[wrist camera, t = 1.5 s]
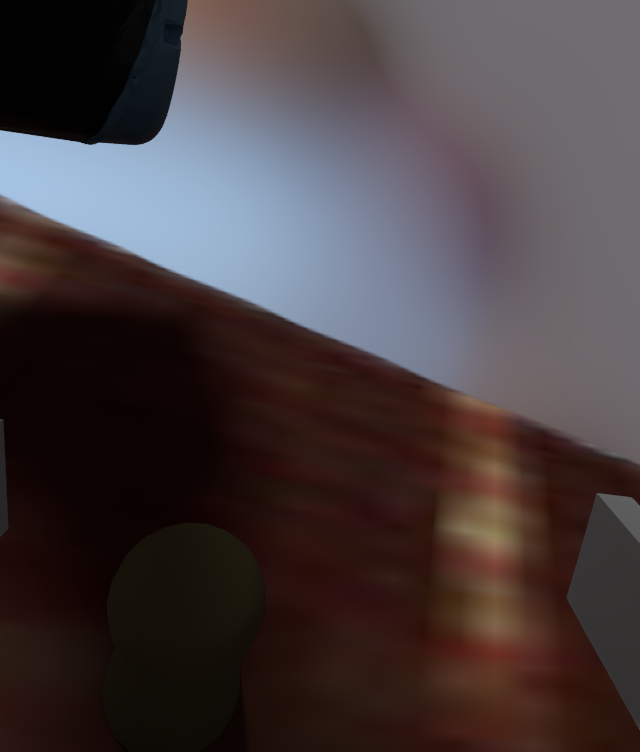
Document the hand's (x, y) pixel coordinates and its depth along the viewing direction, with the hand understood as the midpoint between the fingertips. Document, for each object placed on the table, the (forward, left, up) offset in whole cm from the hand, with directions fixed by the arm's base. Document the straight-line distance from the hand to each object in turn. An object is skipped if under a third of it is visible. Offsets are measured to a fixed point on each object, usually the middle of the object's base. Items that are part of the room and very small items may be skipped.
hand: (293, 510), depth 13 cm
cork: (-2, 0, -18) cm, 18 cm away
